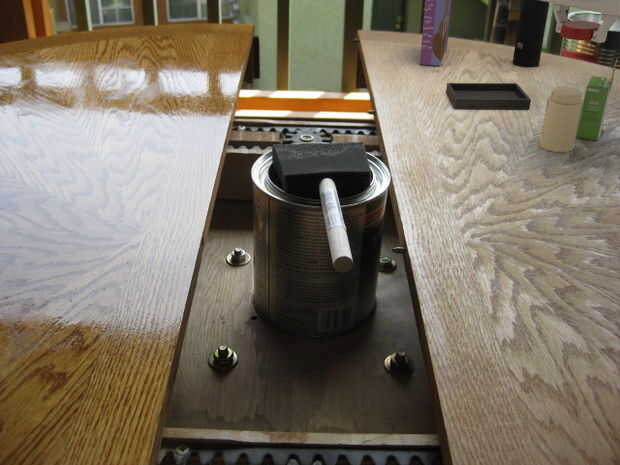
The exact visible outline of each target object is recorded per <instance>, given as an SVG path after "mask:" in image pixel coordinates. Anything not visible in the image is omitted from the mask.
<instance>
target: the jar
mask: <svg viewBox="0 0 620 465" xmlns="http://www.w3.org/2000/svg"><path fill="white" fill-rule="evenodd" d="M582 98H583V92H582V90H580V89H578V88H574V87H570V86H557V87H554V88H552V89H551V95H550V96H548V97H547V101H546V104H545V105H546V106H545V110H544V111H545V112H544V117H543V123H542V129H541V132H540V133H541V134H540V138H539V139H540V140H539V146H540V148H542V149H543V150H546V151H548V152H554V153H569V151H570V152H572V151H574V148H575V145H576V139H577V137H576V135H577V130H578V125H579V120H580V116H581V111H582V106H583V99H582Z"/></svg>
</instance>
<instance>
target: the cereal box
mask: <svg viewBox="0 0 620 465" xmlns="http://www.w3.org/2000/svg"><path fill="white" fill-rule="evenodd" d="M452 2H453V0H424V8H423V9H424V12H423V23H422V35H421V47H420V58H419V66H423V67H425V66H426V67H440V66H441V64H442V61H443V59H444V56H445V54H446V52H447V50H448V41H449V34H450V33H449V31H450V22H451V11H452Z"/></svg>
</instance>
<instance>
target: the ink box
mask: <svg viewBox="0 0 620 465" xmlns="http://www.w3.org/2000/svg"><path fill="white" fill-rule="evenodd" d="M617 63H618V58H616V59H615V62H614V66H613V69H612V73H611V77H609V76H607V77H606V76H596V75H591V77H590V78H589V81H588V83H587V85H586V87H585V90H584V96H583V99H582V101H583V106H582V111H581V116H580V120H579V125H578V130H577V135H576V139H580V138H584V139H583V140H587V139H589V140H588V141H599V139H600V136H601V134H602V132H603V131H602V130H603V128H604V124H605V118H606V114H607V110H608V105H609V100H610V95H611V90H612V86H613V83H614V76H615V72H616V67H617Z"/></svg>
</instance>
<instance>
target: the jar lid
mask: <svg viewBox="0 0 620 465" xmlns="http://www.w3.org/2000/svg"><path fill="white" fill-rule="evenodd" d="M600 26H601V24H600V23H598V22H595V21H589V20H567V21H566V22H564V23H563V24H562V26H561V32H560V33H559V35H560V37H562V38H565V39H566V40H567V39H568V40H572V41H591V37H592V31H593V30H597V29H598V28H599V27H600Z"/></svg>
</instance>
